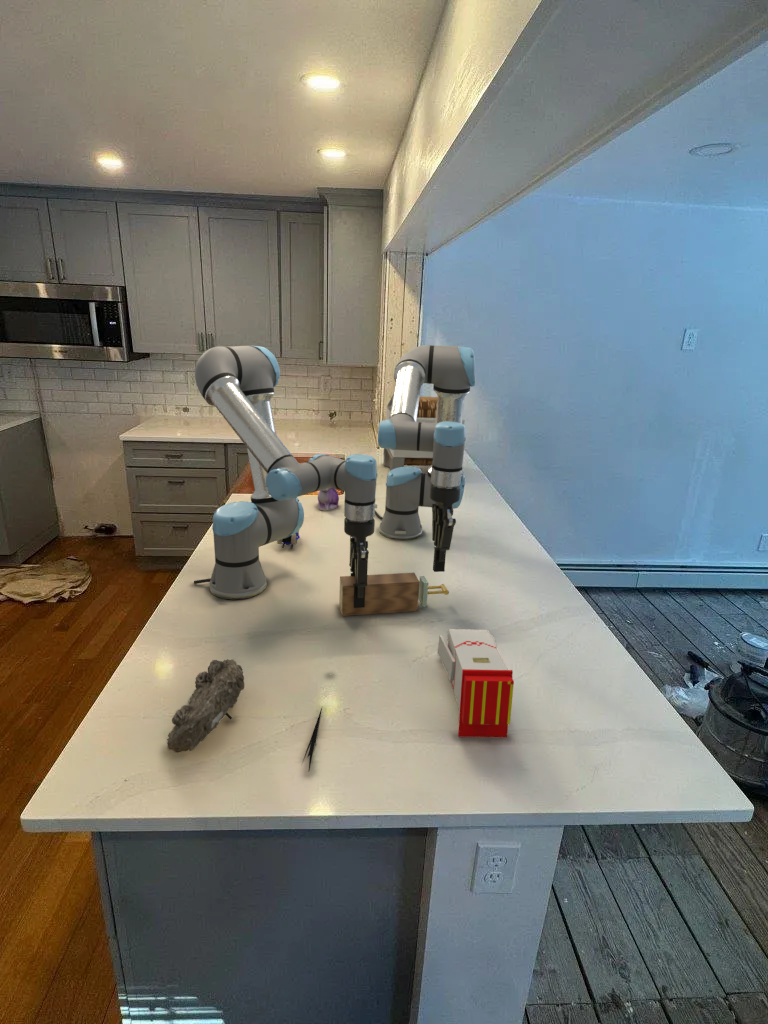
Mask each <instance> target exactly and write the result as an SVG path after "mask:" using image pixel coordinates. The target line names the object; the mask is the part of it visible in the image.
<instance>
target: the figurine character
mask: <svg viewBox="0 0 768 1024" xmlns="http://www.w3.org/2000/svg"><path fill="white" fill-rule="evenodd" d="M299 532H300V530H299V531H298V532H297V533H295V534H293V535H291V536H289V537H288V538H285V539H280V540H277V541H276V545H281V549H285V547H286V546H290V550H292V549H293V548H294V545H296V544H297V543H298V540H299V539H300V538H301V535H300V533H299ZM285 545H286V546H285Z"/></svg>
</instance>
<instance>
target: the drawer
mask: <svg viewBox="0 0 768 1024" xmlns="http://www.w3.org/2000/svg"><path fill="white" fill-rule="evenodd" d="M419 582H420V583H419V597H418V602H419V603H420V606H421V607H427V606H428V605H427V604H428V595H439V594H444V595H445V596H447V595H449V594H450V590H449V589H448V587H447V586H446V585H445V584H444V583H441V584H440V585H429V582H428V579H427V578H426V576H425V575H420V576H419ZM439 589H440V590H439Z"/></svg>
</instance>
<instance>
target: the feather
mask: <svg viewBox="0 0 768 1024" xmlns="http://www.w3.org/2000/svg"><path fill="white" fill-rule="evenodd" d="M329 675H330V676H331V675H332V674H331V673H330V674H329ZM322 710H323V707H321V708H320V710H319V713H318V716H317V719H316V723H315V725H314V728H313V731H312V733H311V737H310V739H309V742H308V745H307V748H306V751H305V754H304V757H303V760H302V763H301V767H302V765H303V763H304V761H305V758H308V759H309V760H308V762H307V763H308V764H307V766H308V771H310V770H311V766H312V765H311V764H312V760H313V757H315V756H314V755H315V751H316V749H315V746H317V739H318V733H319V729H320V722H321V717H322V712H323V711H322ZM313 754H314V755H313ZM306 755H307V757H306Z"/></svg>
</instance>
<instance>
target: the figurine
mask: <svg viewBox="0 0 768 1024" xmlns="http://www.w3.org/2000/svg"><path fill="white" fill-rule="evenodd" d="M339 500H340V497H339V493H338V491H337V489H335V488H327V489H323V490H320V491H318V493H317V502H318V503H317V508H318V510H321V511H328V510H329V511H330V510H334V509H337V508H338V506H339Z"/></svg>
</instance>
